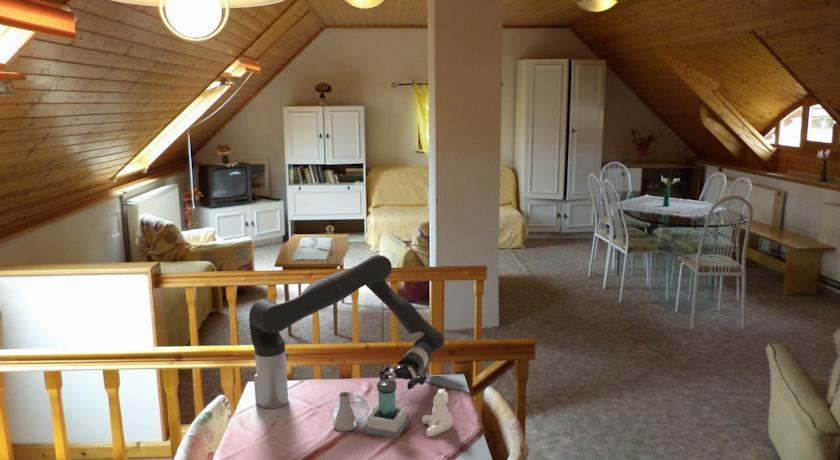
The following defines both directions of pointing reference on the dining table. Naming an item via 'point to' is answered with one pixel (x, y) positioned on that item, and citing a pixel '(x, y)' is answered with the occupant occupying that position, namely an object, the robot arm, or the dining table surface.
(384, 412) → the teal capped jar
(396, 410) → the dock
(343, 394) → the flask
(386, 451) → the dining table surface
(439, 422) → the seated beast figurine
